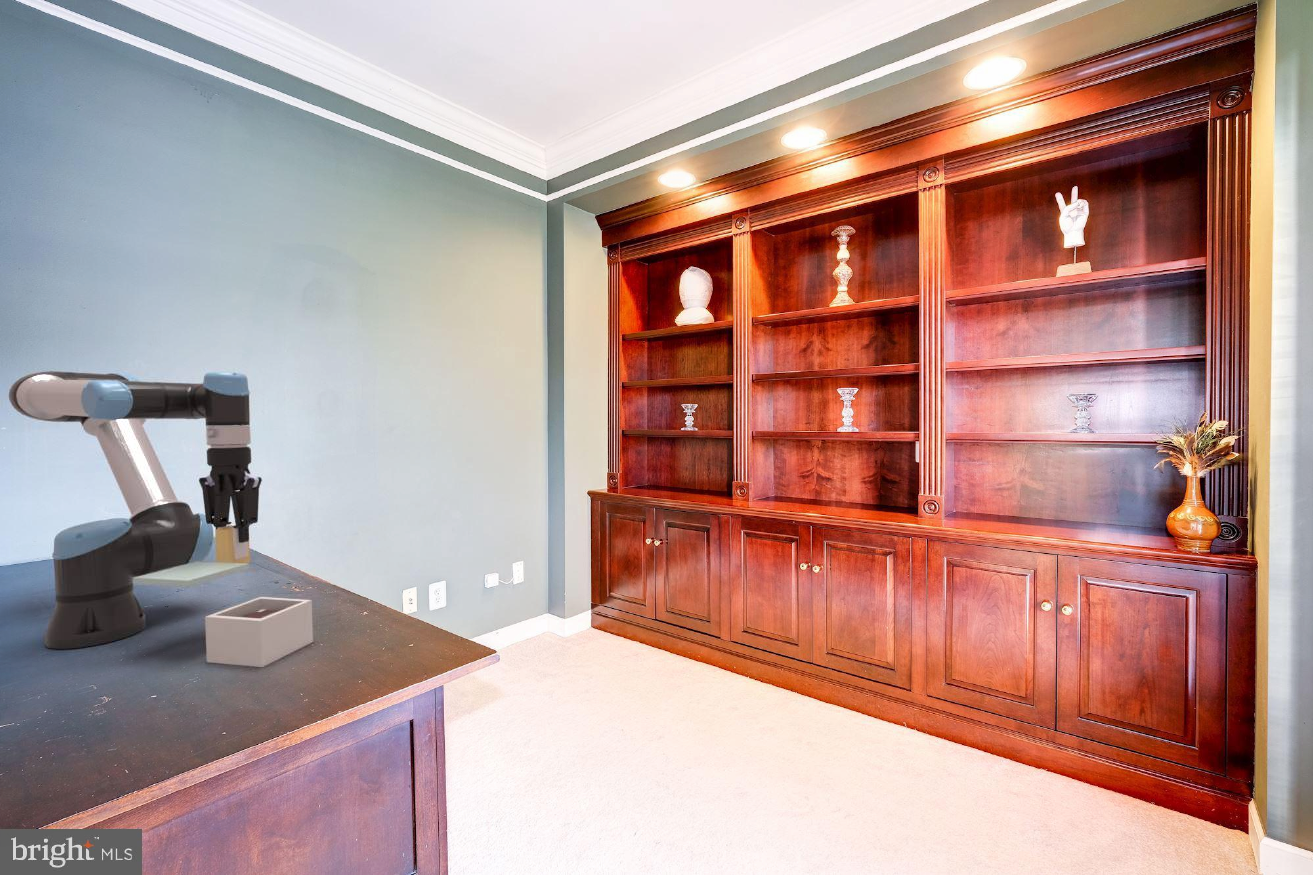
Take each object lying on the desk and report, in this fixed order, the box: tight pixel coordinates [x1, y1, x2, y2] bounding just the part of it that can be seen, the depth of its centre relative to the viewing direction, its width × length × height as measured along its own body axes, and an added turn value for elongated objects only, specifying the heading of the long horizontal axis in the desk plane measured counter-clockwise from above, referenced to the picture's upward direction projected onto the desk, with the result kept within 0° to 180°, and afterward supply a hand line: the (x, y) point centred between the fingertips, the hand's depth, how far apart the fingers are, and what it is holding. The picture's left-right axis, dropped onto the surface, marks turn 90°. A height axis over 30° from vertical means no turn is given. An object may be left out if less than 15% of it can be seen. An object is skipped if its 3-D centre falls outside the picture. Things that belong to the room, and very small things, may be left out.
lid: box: [133, 525, 251, 588], centre depth 118 cm, size 13×18×8 cm
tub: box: [204, 596, 314, 668], centre depth 113 cm, size 12×12×8 cm
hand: (233, 557), depth 124 cm, fingers closed on lid, 3 cm apart
